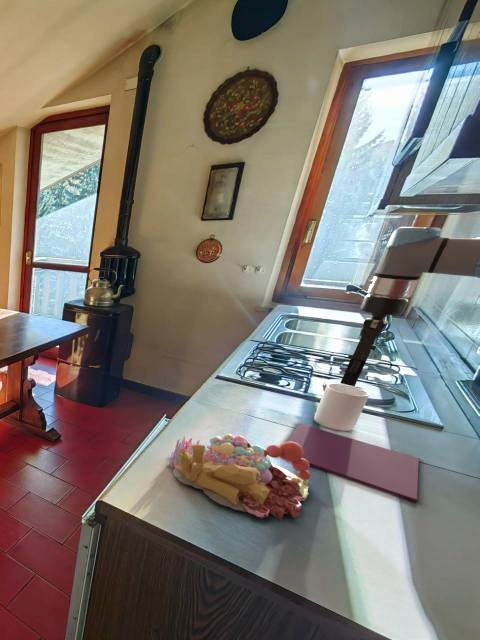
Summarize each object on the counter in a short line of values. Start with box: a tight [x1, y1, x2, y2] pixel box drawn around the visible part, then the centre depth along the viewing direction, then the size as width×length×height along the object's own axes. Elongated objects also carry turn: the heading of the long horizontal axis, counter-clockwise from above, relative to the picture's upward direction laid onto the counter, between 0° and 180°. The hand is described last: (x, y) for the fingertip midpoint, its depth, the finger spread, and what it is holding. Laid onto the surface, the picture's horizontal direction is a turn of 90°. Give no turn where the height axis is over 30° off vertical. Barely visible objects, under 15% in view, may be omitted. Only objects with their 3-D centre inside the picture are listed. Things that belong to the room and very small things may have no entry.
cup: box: [313, 383, 370, 432], centre depth 104 cm, size 8×12×10 cm
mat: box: [286, 423, 420, 503], centre depth 90 cm, size 22×22×1 cm
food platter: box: [169, 433, 312, 522], centre depth 79 cm, size 25×24×9 cm
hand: (350, 378), depth 101 cm, fingers open, 13 cm apart
